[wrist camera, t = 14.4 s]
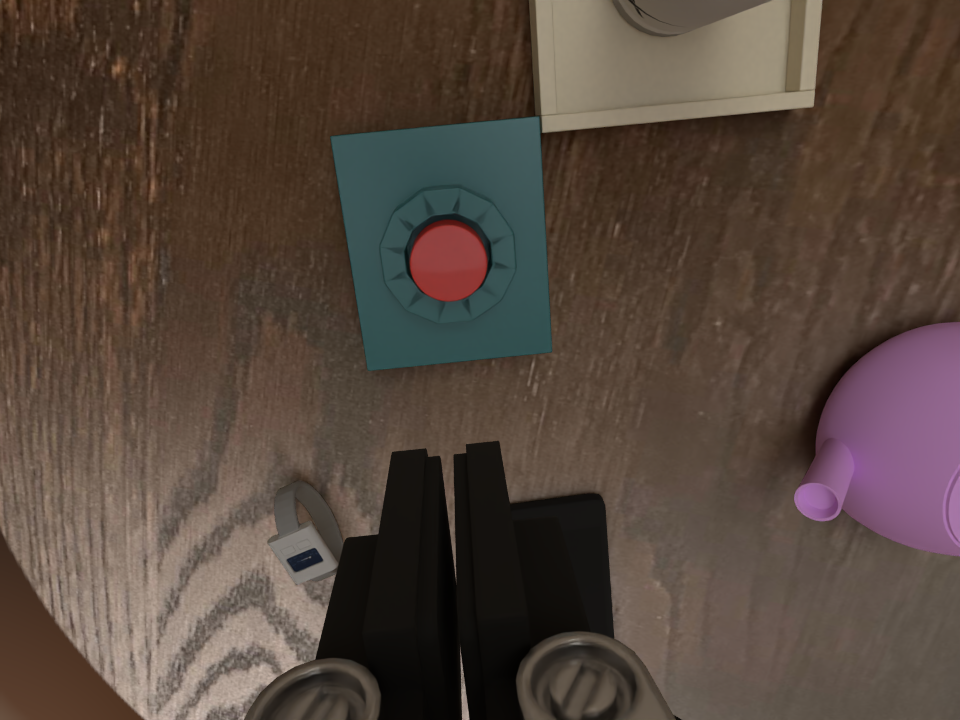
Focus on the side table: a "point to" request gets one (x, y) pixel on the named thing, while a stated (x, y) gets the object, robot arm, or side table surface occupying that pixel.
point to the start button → (448, 260)
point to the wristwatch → (305, 535)
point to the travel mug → (678, 14)
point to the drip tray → (669, 65)
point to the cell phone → (582, 550)
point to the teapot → (894, 443)
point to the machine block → (446, 196)
